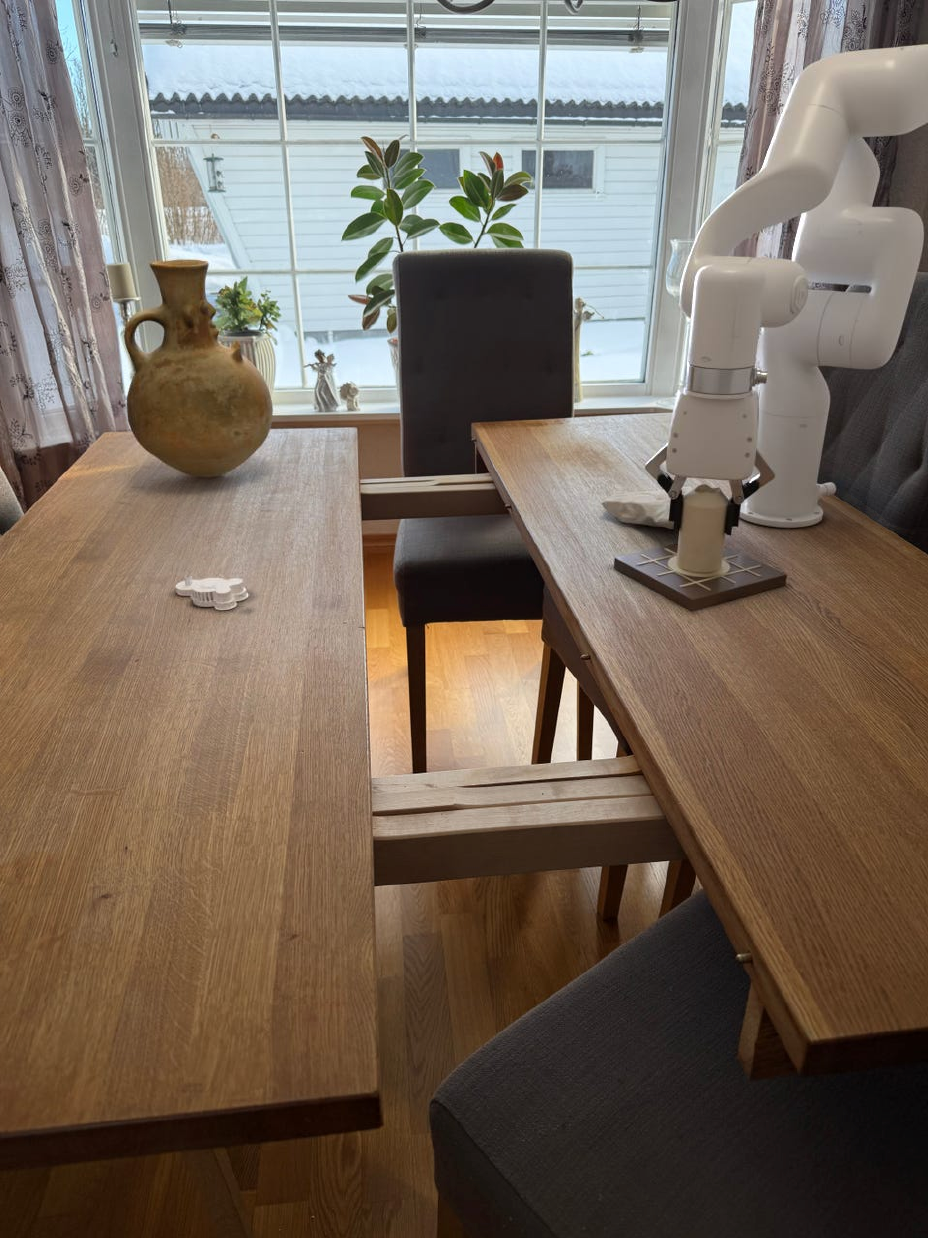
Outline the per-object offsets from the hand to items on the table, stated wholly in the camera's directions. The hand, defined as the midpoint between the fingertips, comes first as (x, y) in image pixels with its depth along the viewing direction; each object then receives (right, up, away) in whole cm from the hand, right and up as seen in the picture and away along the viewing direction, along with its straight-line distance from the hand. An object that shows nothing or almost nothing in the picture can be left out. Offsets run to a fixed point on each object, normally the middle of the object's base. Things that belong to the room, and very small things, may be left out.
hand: (702, 527), depth 109 cm
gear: (-60, -9, -1) cm, 60 cm away
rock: (-2, +3, +22) cm, 22 cm away
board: (0, -6, +3) cm, 6 cm away
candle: (0, -5, +2) cm, 5 cm away
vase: (-74, +14, +47) cm, 88 cm away
